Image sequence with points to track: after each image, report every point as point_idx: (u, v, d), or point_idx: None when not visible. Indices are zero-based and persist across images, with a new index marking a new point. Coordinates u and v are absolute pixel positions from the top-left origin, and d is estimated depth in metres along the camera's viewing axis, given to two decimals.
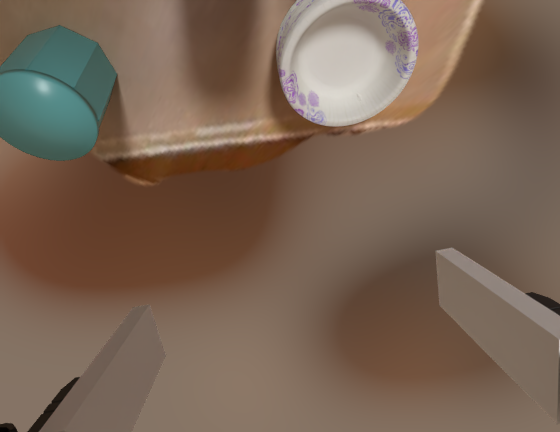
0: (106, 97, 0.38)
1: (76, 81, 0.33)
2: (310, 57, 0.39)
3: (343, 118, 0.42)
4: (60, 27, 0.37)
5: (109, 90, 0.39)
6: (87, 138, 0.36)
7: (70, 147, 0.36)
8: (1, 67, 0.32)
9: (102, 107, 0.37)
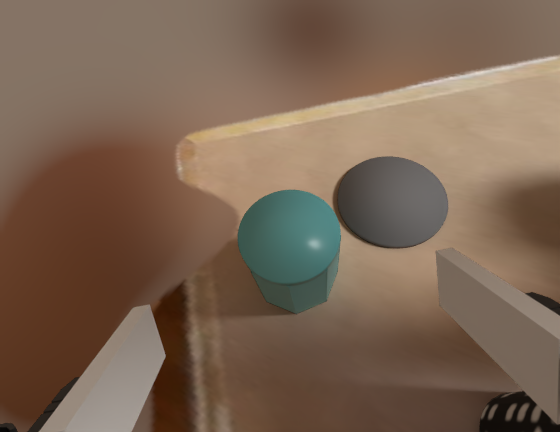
0: (293, 299, 0.34)
1: (327, 274, 0.32)
2: None
3: None
4: (336, 272, 0.41)
5: (294, 303, 0.36)
6: (270, 269, 0.30)
7: (256, 250, 0.32)
8: None
9: (292, 293, 0.32)
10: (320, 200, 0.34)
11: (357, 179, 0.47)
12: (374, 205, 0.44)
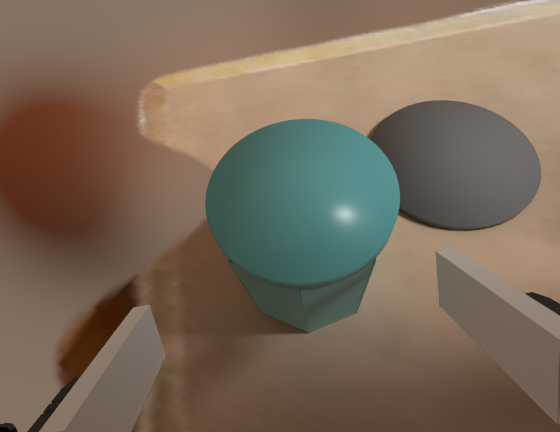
0: (307, 312, 0.19)
1: (372, 268, 0.17)
2: None
3: None
4: None
5: (307, 318, 0.21)
6: (265, 257, 0.16)
7: (239, 221, 0.17)
8: None
9: (305, 302, 0.18)
10: (357, 135, 0.19)
11: (397, 131, 0.32)
12: (425, 167, 0.29)
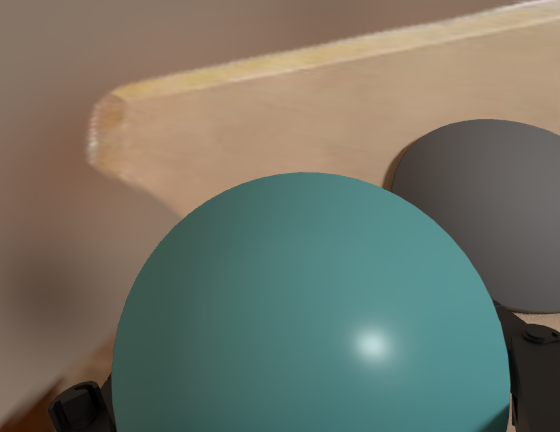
0: None
1: None
2: None
3: None
4: None
5: None
6: None
7: (174, 401, 0.08)
8: None
9: None
10: (404, 206, 0.10)
11: (429, 162, 0.23)
12: (473, 215, 0.21)
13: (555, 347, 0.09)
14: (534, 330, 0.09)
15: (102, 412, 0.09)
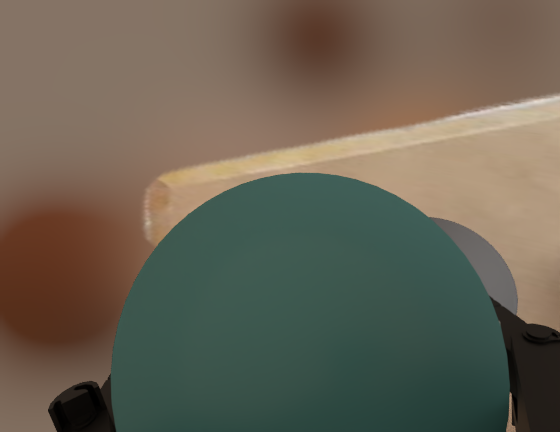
0: None
1: None
2: None
3: None
4: None
5: None
6: None
7: (173, 402, 0.08)
8: None
9: None
10: (404, 206, 0.10)
11: None
12: None
13: (555, 347, 0.09)
14: (534, 330, 0.09)
15: (102, 412, 0.09)
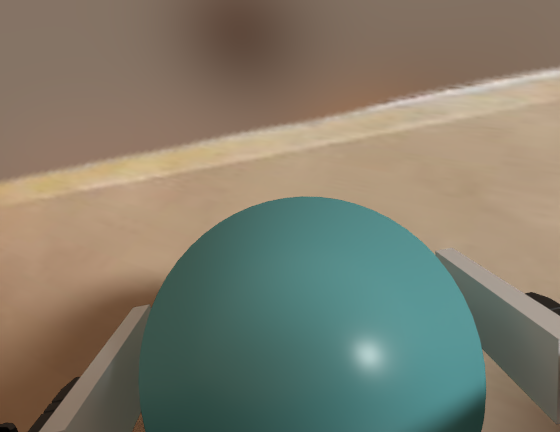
0: None
1: None
2: None
3: None
4: None
5: None
6: None
7: (194, 403, 0.09)
8: None
9: None
10: (397, 229, 0.11)
11: None
12: None
13: None
14: None
15: None
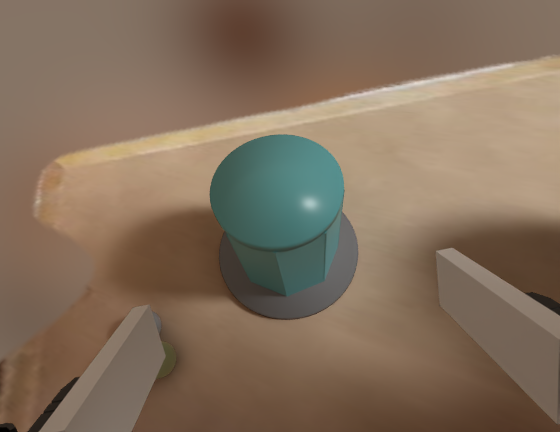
0: (283, 274, 0.27)
1: (326, 239, 0.24)
2: None
3: None
4: (337, 246, 0.33)
5: (284, 281, 0.28)
6: (250, 230, 0.23)
7: (233, 206, 0.24)
8: None
9: (280, 264, 0.25)
10: (317, 146, 0.26)
11: None
12: None
13: None
14: None
15: None
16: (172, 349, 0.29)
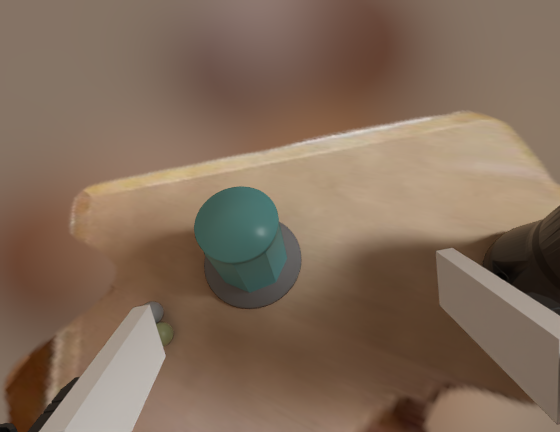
0: (242, 278, 0.41)
1: (267, 256, 0.39)
2: None
3: None
4: (286, 258, 0.48)
5: (244, 282, 0.42)
6: (218, 251, 0.37)
7: (208, 235, 0.38)
8: None
9: (239, 271, 0.39)
10: (264, 195, 0.40)
11: None
12: None
13: None
14: None
15: None
16: (170, 327, 0.44)
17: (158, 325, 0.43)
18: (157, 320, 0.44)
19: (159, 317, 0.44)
